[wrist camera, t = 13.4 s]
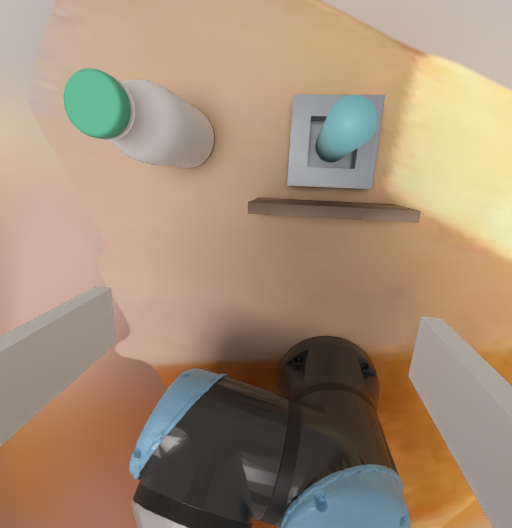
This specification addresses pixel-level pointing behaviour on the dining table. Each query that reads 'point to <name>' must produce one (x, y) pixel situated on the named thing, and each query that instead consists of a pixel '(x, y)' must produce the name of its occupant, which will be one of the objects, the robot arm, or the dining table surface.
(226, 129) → the dining table surface
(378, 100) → the socket block
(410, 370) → the robot arm
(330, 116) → the peg
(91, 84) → the milk bottle
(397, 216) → the wooden cutting board
